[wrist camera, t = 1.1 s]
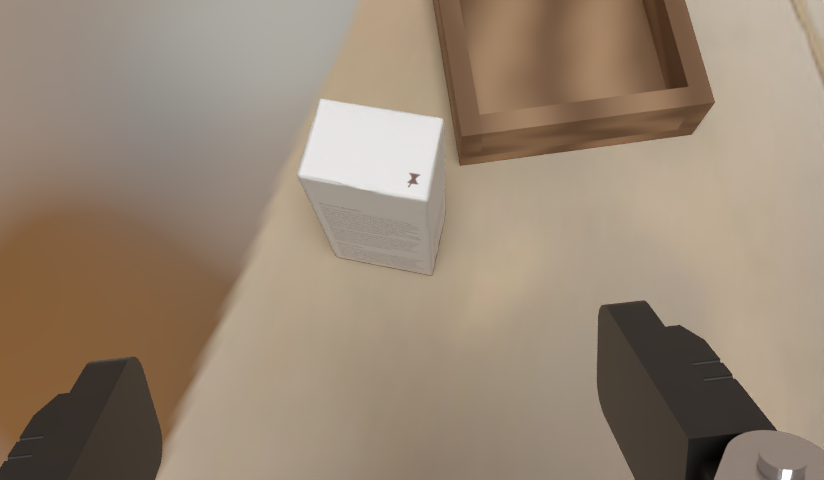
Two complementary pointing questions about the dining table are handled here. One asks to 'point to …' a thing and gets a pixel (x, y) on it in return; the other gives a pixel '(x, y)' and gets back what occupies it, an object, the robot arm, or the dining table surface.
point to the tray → (568, 74)
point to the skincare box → (377, 183)
